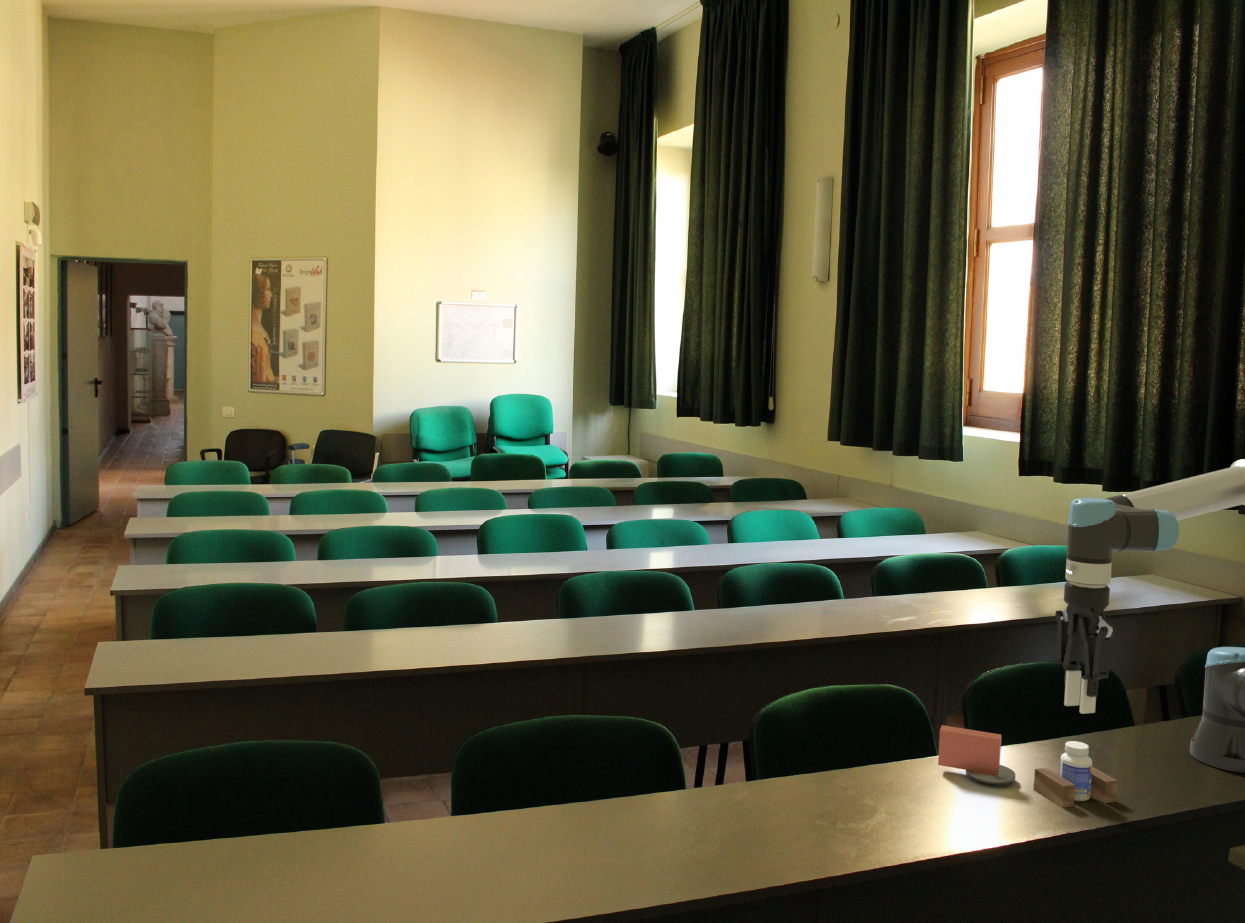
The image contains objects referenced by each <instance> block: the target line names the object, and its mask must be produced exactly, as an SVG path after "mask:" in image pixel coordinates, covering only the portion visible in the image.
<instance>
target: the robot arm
mask: <svg viewBox="0 0 1245 923" xmlns="http://www.w3.org/2000/svg"><path fill="white" fill-rule="evenodd" d="M1242 505H1243V506H1245V458H1242V459H1238V460H1236V461H1233V463H1232V464H1231V465H1230V467H1226V468H1223V469H1218V470H1215V471H1210V472H1206V473H1204V474H1203V473H1202V474H1198V475H1195V476H1190V477H1188V478H1187V477H1186V478H1183V479H1180V480H1175V481H1172V482H1167V483H1163V484H1159V485H1155V486H1154V485H1153V486H1151V487H1150V486H1149V487H1146V488H1143V489H1139V490H1135V491H1131V492H1127V493H1123V494H1119V495H1114V496H1110V497H1105V498H1100V497H1099V498H1098V497H1078V498H1075V499H1072V500H1071V502H1070V507H1069V510H1068V512H1069V513H1068V520H1067V540H1066V541H1067V545H1066V562H1065V563H1066V564H1065V576H1064V577H1065V579H1066V581H1067V582H1065V583H1064V587H1063V588H1064V591H1063V601H1064V603H1065V604H1066V605H1067V606H1066V607H1065V609H1064V610H1059V609H1058V610H1056V611H1055V618H1056V623H1057V626H1056V629H1057V630H1056V661H1057V663H1058V664H1061V665H1062V668H1063V669H1064V678H1063V680H1064V681H1063V684H1064V686H1065V687H1064V699H1063V700H1064V702H1063V705H1064V706H1065V707H1075V706H1076V707H1077V706H1079V713H1080V714H1082V715H1083V714H1095V713H1096V703H1097V697H1098V694H1099V681H1100V680H1101V679H1108V678H1109V674H1110V667H1111V666H1110V665H1111V656H1112V650H1113V640H1114V638H1115V635H1116V632H1117V628H1116V626H1115V625H1110V624H1108V622H1106V616H1105V609H1106V608H1108V606H1109V605H1110V594H1111V589H1110V587H1109V586H1108V585H1110V584H1111V582H1112V565H1113V564H1112V563H1113V553H1114V552H1152V553H1155V552H1161V551H1169V550H1171V549H1173V548H1174V547H1175V546H1176V545H1177V542H1178V540H1179V538H1180V524H1179V521H1180V520H1184V519H1185V520H1186V519H1189V518H1194V517H1198V516H1202V515H1205V514H1206V515H1207V514H1210V513H1213V512H1218V511H1221V510H1225V509H1230V508H1233V507H1238V506H1242ZM1082 650H1083V659H1084V661H1083V662H1084V673H1085V674H1084V675H1082V670H1080V669H1081V668H1082V666H1081V665H1080V661H1081V655H1082ZM1204 668H1205V671H1204V672H1205V673H1204V688H1203V700H1202V702H1203V703H1202V705H1203V706H1202V716H1201V719H1200V721H1199V723H1198V725H1197V726H1196V727H1197V728H1196V730H1195V732H1194V735H1193V736H1192V738H1191V740H1190V745H1189V753H1190V755H1191V757H1193V758H1194V759H1196V760H1197V761H1199V762H1201V763H1203V764H1206V765H1208V766H1211V767H1214V768H1216V769H1221V770H1225V771H1230V772H1233V773H1241V774H1245V647H1239V646H1237V647H1236V646H1220V647H1213V648H1212V649H1210V650H1209V651H1208V653H1207V656H1206V662H1205V665H1204Z"/></svg>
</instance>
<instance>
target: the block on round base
mask: <svg viewBox="0 0 1245 923" xmlns="http://www.w3.org/2000/svg"><path fill="white" fill-rule="evenodd" d="M938 744H939V745H938V757H937V758H938V762H937V763H938V766H943V767H948V768H954V769H960V770H964V771H965V774H966V776H967V777H969V778H970V779H972V780H974V781H976V782H980V783H983V784H987V785H993V786H995V785H996V786H999V785H1000V786H1004V785H1010V784H1012V783H1014V782H1015V781H1016V773H1015V771H1014V770H1012V769H1011V768H1010V767H1007V766H1005V765H1002V764H1001V752H1002V751H1001V749H1002V748H1001V746H1002V734H999V733H992V732H987V731H981V730H975V729H969V728H963V727H955V726H951V725H950V726H948V725H944V724H942V725H941V726H940V729H939V740H938Z"/></svg>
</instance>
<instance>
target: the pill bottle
mask: <svg viewBox="0 0 1245 923" xmlns="http://www.w3.org/2000/svg"><path fill="white" fill-rule="evenodd" d="M1064 745H1065V746H1064V751H1065V752H1064V753H1062V754H1061V756H1060V763H1059V764H1060V766H1059V776H1061V777H1063V778H1065V779H1066V780H1068V781H1070V782H1071V783H1073V784H1075V799H1074V802H1075V801H1076V802H1085V801H1088V800H1090V799H1091V796H1092V795H1091V779H1092V767H1093V759H1092V758H1091V757H1090V756H1089V748H1090V746H1089V744H1086V743H1084V742H1083V741H1082V742H1081V741H1075V740H1071V741H1069V740H1068V741H1066V742H1065V744H1064Z"/></svg>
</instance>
